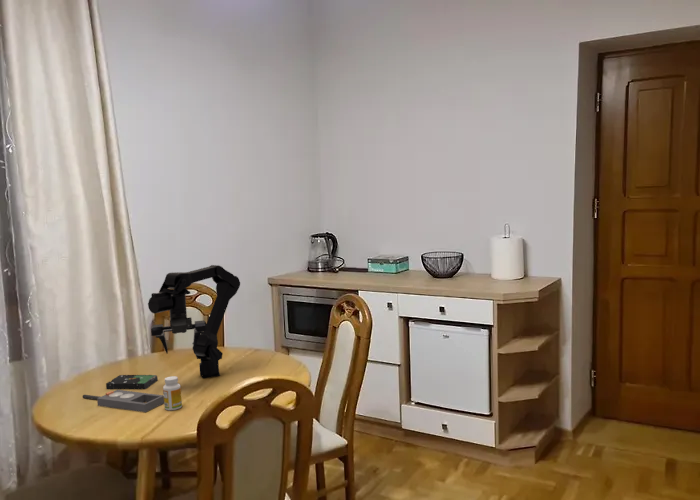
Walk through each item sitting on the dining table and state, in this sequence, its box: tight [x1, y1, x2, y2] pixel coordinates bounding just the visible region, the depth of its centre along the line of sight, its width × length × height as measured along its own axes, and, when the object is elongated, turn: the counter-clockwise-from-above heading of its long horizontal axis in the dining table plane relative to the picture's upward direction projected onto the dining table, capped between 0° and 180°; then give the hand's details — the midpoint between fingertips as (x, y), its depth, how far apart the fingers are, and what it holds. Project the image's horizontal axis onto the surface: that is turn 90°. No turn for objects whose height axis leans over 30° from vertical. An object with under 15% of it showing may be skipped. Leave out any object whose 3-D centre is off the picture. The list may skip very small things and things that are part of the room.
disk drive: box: [105, 374, 159, 390], centre depth 228 cm, size 10×3×15 cm
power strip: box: [82, 389, 164, 413], centre depth 209 cm, size 31×9×3 cm, turn 66°
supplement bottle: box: [162, 375, 183, 411], centre depth 201 cm, size 5×5×10 cm
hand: (180, 351), depth 224 cm, fingers open, 9 cm apart
